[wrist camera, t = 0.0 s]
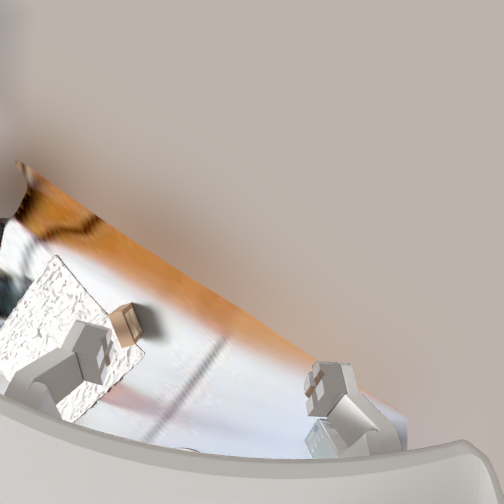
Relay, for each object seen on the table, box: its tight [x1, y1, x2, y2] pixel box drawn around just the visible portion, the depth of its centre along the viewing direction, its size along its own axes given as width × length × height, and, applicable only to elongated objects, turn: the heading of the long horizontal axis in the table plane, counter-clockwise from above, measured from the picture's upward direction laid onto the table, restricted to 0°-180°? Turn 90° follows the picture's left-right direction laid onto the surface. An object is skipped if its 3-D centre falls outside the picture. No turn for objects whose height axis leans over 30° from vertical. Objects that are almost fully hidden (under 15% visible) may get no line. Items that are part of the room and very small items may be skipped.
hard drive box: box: [305, 419, 349, 459], centre depth 62 cm, size 16×8×20 cm, turn 65°
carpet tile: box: [0, 255, 145, 423], centre depth 62 cm, size 39×30×2 cm
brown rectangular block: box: [108, 302, 143, 348], centre depth 61 cm, size 7×3×8 cm, turn 18°
